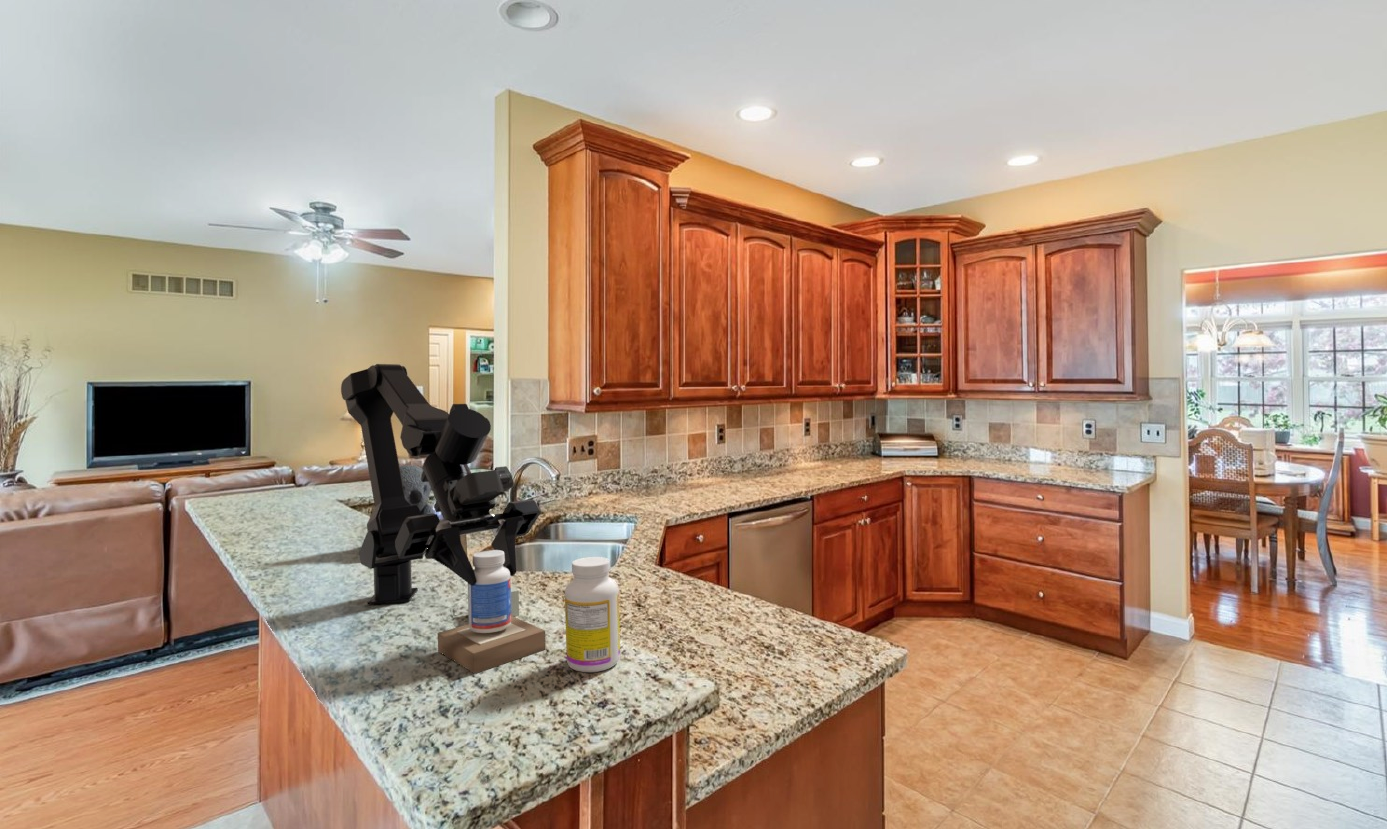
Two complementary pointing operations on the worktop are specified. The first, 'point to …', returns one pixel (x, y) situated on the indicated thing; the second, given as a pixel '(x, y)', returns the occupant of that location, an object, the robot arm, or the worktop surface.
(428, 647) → the worktop surface
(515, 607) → the block
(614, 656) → the supplement bottle
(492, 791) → the worktop surface
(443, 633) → the plinth
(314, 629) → the worktop surface
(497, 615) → the pill bottle
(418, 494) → the koala plush
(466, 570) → the robot arm
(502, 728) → the worktop surface
